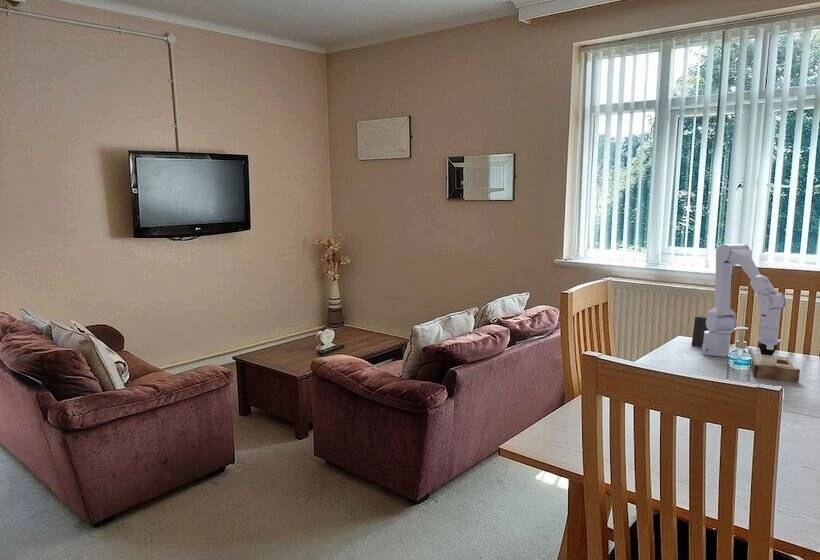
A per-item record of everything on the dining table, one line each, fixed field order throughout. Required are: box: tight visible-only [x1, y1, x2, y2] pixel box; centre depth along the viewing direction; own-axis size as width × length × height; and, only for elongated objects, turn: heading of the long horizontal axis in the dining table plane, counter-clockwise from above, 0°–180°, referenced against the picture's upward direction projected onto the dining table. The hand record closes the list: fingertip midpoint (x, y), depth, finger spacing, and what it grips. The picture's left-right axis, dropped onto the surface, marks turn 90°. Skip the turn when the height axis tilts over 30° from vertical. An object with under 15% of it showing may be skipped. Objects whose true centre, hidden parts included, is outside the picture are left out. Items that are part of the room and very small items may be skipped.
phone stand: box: [691, 315, 708, 348], centre depth 238 cm, size 9×6×12 cm, turn 145°
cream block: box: [759, 353, 777, 366], centre depth 200 cm, size 4×4×4 cm
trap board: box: [747, 347, 801, 383], centre depth 206 cm, size 13×25×4 cm, turn 154°
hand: (765, 364), depth 203 cm, fingers closed, pressing on cream block
